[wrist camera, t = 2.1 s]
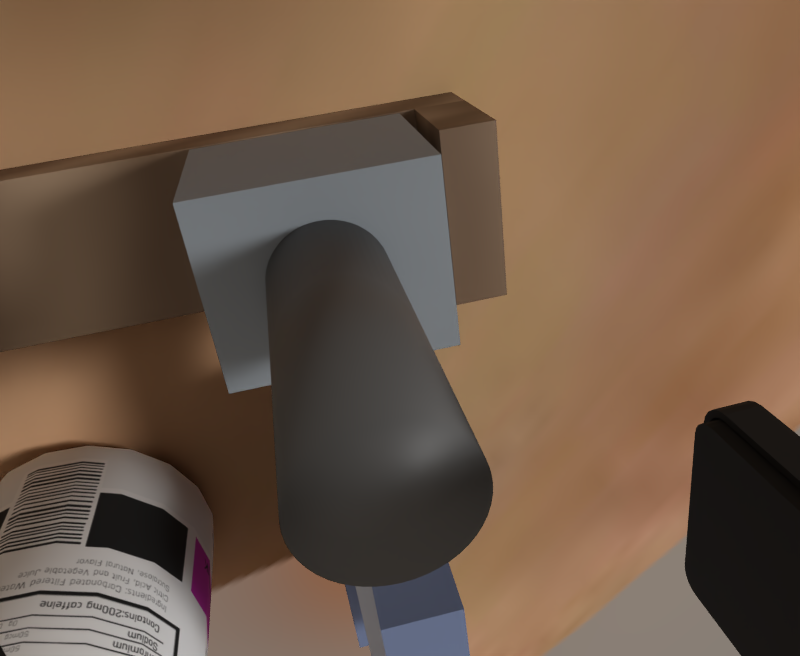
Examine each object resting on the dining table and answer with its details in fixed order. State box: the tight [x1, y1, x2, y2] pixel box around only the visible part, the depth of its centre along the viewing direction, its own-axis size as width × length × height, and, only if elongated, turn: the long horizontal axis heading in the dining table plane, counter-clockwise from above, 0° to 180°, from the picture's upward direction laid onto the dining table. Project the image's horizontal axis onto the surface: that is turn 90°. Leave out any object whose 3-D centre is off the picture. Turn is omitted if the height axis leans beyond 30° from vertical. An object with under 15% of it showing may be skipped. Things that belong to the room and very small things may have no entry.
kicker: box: [173, 113, 493, 656], centre depth 19 cm, size 6×20×14 cm, turn 8°
